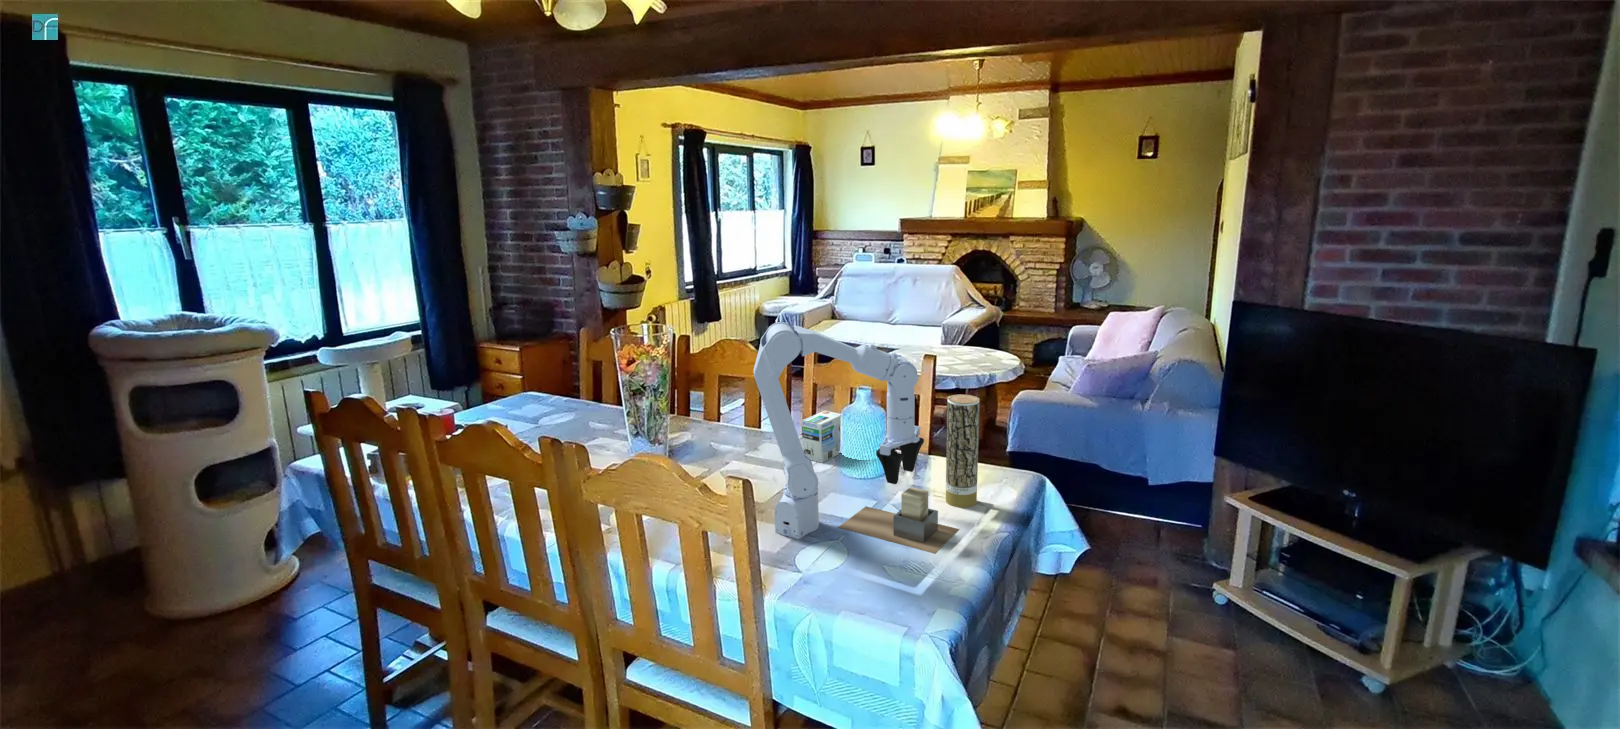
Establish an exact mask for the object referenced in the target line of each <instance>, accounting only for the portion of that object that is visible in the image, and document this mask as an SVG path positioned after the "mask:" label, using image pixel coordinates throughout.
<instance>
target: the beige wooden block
mask: <svg viewBox="0 0 1620 729" xmlns="http://www.w3.org/2000/svg"><path fill="white" fill-rule="evenodd" d="M928 508H929V490H925V489H921V488H917V487H911V486H910V487H908V488H907V489H906V490H904V491H903V492H902V493H901V509H902V517H906V518H910V519H914V520H918V521H924V520H925V519H926V518H927V517H928Z"/></svg>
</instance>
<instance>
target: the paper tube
mask: <svg viewBox="0 0 1620 729" xmlns="http://www.w3.org/2000/svg"><path fill="white" fill-rule="evenodd" d="M946 402H947V403H946V404H947V405H946V406H947V407H946V410H947V411H946V450H945V451H946V453H945V454H946V460H945V465H946V466H945V503H946V504H948V506H951V507H954V508H961V509H966V508H972V507H974V506H976V504H977V503H978V502H977V499H978V496H977V493H978V470H979V469H978V466H979V465H978V464H979V439H980V438H979V432H980V431H979V430H980V403H981V402H980V398H979V397H978V396H976V395H972V394H954V395H950V396H948V397H947V401H946Z"/></svg>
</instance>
